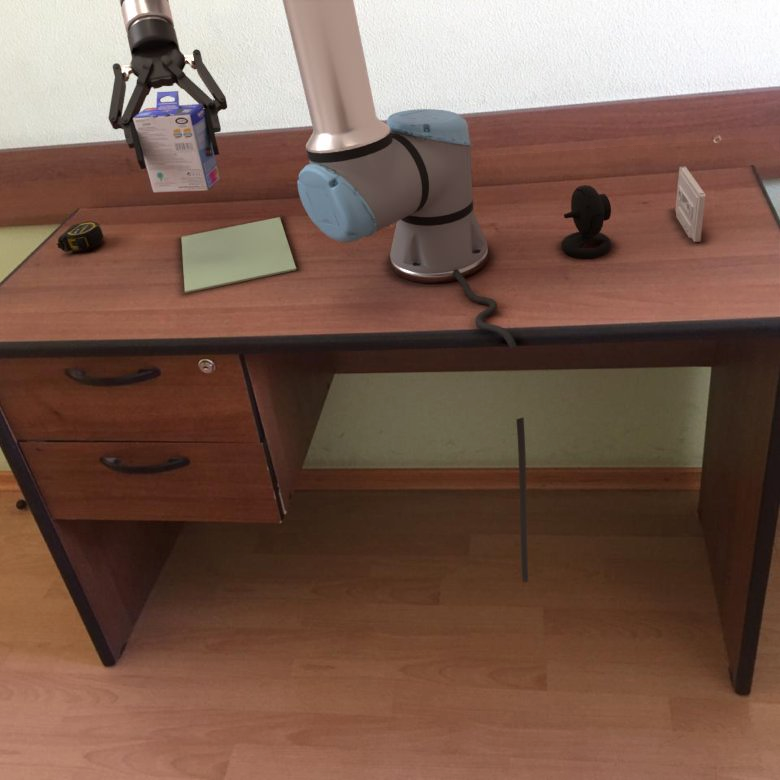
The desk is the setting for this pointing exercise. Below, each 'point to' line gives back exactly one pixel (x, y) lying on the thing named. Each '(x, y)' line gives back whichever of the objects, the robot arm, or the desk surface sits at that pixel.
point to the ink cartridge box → (176, 146)
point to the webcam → (587, 223)
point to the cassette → (690, 204)
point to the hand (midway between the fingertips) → (179, 157)
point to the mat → (235, 255)
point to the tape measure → (81, 237)
